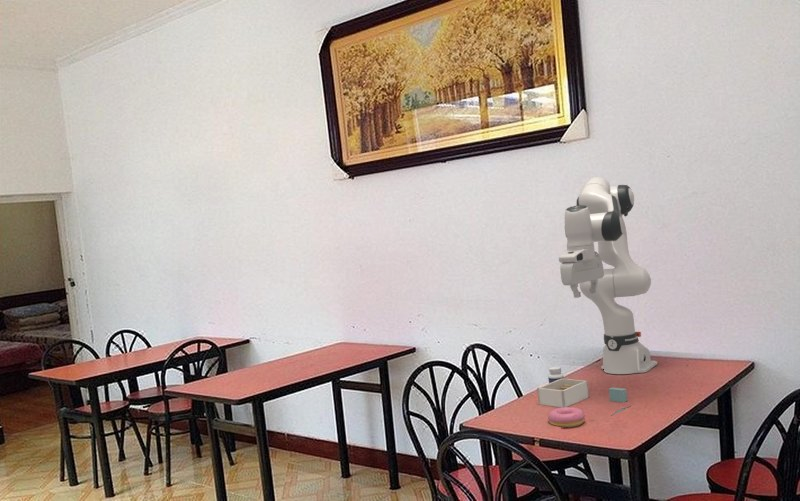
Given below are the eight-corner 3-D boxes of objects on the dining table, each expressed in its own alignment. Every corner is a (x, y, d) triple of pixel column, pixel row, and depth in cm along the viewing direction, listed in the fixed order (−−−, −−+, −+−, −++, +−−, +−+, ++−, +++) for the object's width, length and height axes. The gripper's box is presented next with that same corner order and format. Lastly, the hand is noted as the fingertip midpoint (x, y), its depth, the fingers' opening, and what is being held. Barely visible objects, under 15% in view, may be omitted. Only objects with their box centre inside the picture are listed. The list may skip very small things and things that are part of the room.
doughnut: (563, 431, 205) (561, 417, 205) (540, 423, 215) (539, 410, 215) (593, 423, 209) (591, 409, 209) (570, 416, 219) (569, 402, 219)
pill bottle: (565, 394, 244) (562, 369, 244) (550, 395, 245) (547, 370, 245) (565, 390, 249) (562, 365, 249) (549, 391, 250) (547, 366, 250)
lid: (606, 401, 232) (604, 386, 232) (637, 404, 224) (635, 389, 224) (580, 413, 222) (578, 397, 222) (611, 417, 214) (609, 401, 214)
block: (566, 396, 239) (565, 384, 239) (577, 397, 237) (576, 385, 237) (561, 399, 236) (559, 387, 236) (572, 400, 234) (571, 388, 234)
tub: (563, 395, 243) (562, 378, 243) (589, 398, 235) (587, 380, 235) (539, 406, 234) (537, 388, 233) (564, 409, 226) (562, 391, 226)
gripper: (590, 251, 246) (594, 290, 246) (555, 258, 232) (559, 299, 232) (606, 250, 241) (610, 290, 241) (571, 257, 227) (576, 299, 228)
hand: (585, 295), depth 237 cm, fingers open, 8 cm apart
